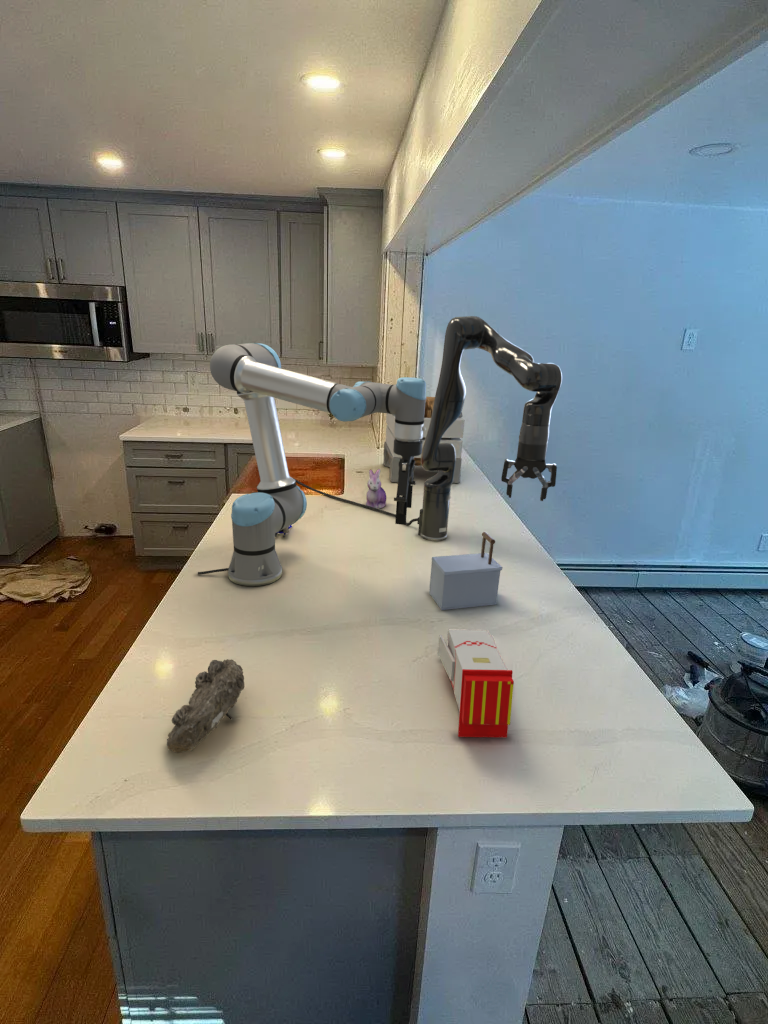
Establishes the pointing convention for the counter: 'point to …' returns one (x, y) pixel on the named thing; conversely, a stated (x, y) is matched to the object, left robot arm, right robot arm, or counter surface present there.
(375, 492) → the figurine
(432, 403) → the grey slatted crate
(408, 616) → the counter surface
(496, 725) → the toy
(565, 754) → the counter surface
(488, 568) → the lid
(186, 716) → the fossil
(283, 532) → the figurine character
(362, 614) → the counter surface
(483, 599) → the chest
